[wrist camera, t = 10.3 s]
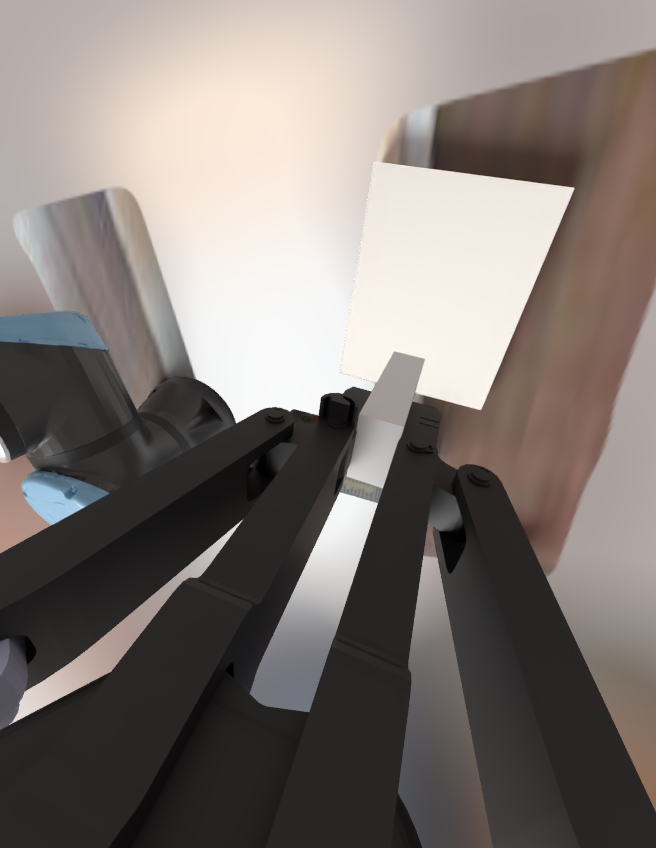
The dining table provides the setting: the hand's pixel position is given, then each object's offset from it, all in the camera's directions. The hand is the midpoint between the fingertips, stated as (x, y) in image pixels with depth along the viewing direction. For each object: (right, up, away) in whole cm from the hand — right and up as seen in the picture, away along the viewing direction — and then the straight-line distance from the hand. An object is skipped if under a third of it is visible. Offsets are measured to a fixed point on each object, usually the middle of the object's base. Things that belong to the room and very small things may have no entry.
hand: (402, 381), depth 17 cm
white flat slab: (+7, +11, +19) cm, 24 cm away
